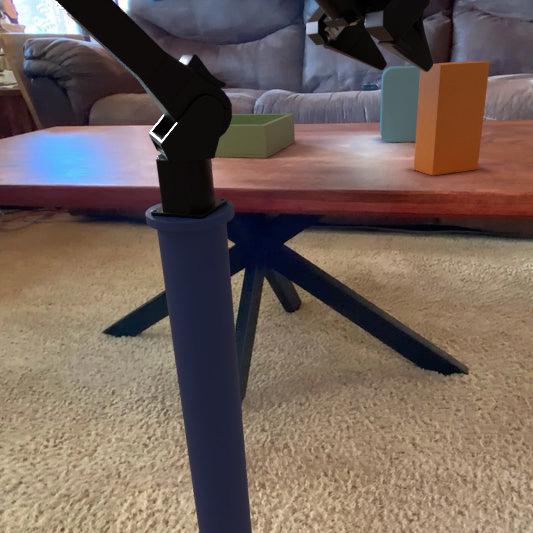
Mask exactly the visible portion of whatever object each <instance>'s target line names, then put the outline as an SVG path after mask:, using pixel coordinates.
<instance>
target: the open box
mask: <svg viewBox="0 0 533 533" xmlns="http://www.w3.org/2000/svg"><path fill="white" fill-rule="evenodd" d="M295 135H296V134H295V113H232V119H231V123H230V126H229V128H228V129H227V131H226V133H225V134H223V135H222V136H221V137H220V139H219V142H218V146H217V150H216V154H215V157H214V158H247V159H248V158H249V159H250V158H251V159H255V158H256V159H267V158H269V157H272V156H273V155H275V154H277V153H279V152H280V151H282V150H283V149H285V148H287V147H289V146H290V145H292V144H295V142H296V140H295V139H296V136H295Z"/></svg>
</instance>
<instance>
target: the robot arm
mask: <svg viewBox="0 0 533 533" xmlns="http://www.w3.org/2000/svg"><path fill="white" fill-rule="evenodd" d="M51 1H52V2H53V4H55V5H56V6H57V7H58V8H59V9H61V10H62V11H63V12H64V13H65V14H66V15H67V16H68V17H69V18H70V19H71V20H72V21H74V22H75V23H76V24H77V25H78V26H79V27H80V28H81V29H82V30H83V31H84V32H85V33H86V34H88V35H89V37H91V38H92V39H93V40H94V41H95V42H97V44H98V45H100V46H101V48H103V49H104V50H105V51H106V52H107V53H108V54H109V55H110V56H111V57H112V58H114V59H115V60H116V61H117V62H118V63H119V64H120V65H121V66H123V68H124V69H126V71H128V72H129V73H130V74H131V75H133V77H134V78H135V79H136V80H137V81H138V82H139V83H140V85H141V86H142V88H143V90H145V92H146V93H147V94H148V96H149V98H150V99H151V100H152V102H153V103H154V105H155V106H156V107H157V108H158V109H159V111H160V112H161V113H162V116H161V117H160V118H159V119H158V121H157V123H155V125H154V126H153V128H152V129H151V130H150V131H149V133H148V137H149V138H150V140H151V142H152V144H153V146H154V148H155V150H156V151H157V152H159V153H160V154H158V155H156V159H155V162H156V171H157V179H158V186H159V194H160V203H162V205H161V206H159V207H157V208H155V209H154V210H152V211H151V216H162V217H176V218H190V219H204V218H206V217H207V216H209V215H210V214H212V213H213V212H215V211H216V210H218V209H219V208H221V207H222V206H224V205H225V204H227V201H228V199H227V198H220V199H219V197H215V185H214V172H213V163H212V159H215V158H216V157H215V154H216V150H217V146H218V142H219V139H220V137H221V136H222V135H223V134H225V133H226V131H227V129H228V128H229V126H230V123H231V119H232V114H233V104H232V101H231V99H230V96H228V94H227V93H226V92H225V90H223V89H222V88H225V87H227V83H226V82H225V81H222V80H220V79H218V78H216V76H214V75H213V74H212V73H211V72H210V70H208V68H207V66H206V65H205V64H204V62H203V60H201V58H200V57H199V56H198V54H182V55H181V57H180V59H177V58H176V57H174V56H173V55H171V54H170V53H169V52H167V51H165V50H164V49H163V48H162V47H161V46H160V45H159V44H158V43H157V42H156V41H155V40H154V39H153V38H152V37H151V36H150V35H149V34H148V33H147V32H146V31H145V30H144V29H143V28H142V27H141V26H140V25H139V24H138V23H137V22H136V21H135V20H134V19H133V18H132V17H131V16H129V14H128V13H126V12H125V10H123V8H122V7H120V5H118V4H117V3H116V2H115V0H51ZM313 1H314V2H315V3H316V4H317V6H318V7H317V9H316V10H315V12H314V13H313V14H312V15H311V16H310V18H309V19H308V21H307V22H306V26H305V28H306V36H307V37H308V38H309V39H310V40H311V41H312V43H313V44H314V45H315V46H322V47H323V48H324V49H325V50H329V51H332V52H335V53H337V54H339V55H342V56H345V57H347V58H349V59H352V60H354V61H356V62H359V63H361V64H363V65H366V66H368V67H370V68H373V69H375V70H378V71H381V72H382V71H384V70H385V69H386V68H387V65H388V62H387V61H386V59H385V57H384V55H383V53H382V52H381V50H380V49H379V48H380V47H381V48H383V49H384V50H387V52H390V53H391V54H393V55H395V56H396V57H398V58H400V59H401V60H403V61H405V62H407V63H408V64H410V65H411V66H415V67H417V68H419V69H421V70H423V71H424V72H428V71H429V70H430V69H431V68H432V66H433V64H434V61H433V57H432V53H431V49H430V46H429V42H428V38H427V34H426V31H425V25H424V15H425V11H426V9H427V8H428V6H429V5H430V4H431V1H432V0H313ZM374 39H376V40H378V42H377V43H376V42H375V40H374ZM379 46H380V47H379Z"/></svg>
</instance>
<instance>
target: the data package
mask: <svg viewBox="0 0 533 533" xmlns="http://www.w3.org/2000/svg"><path fill="white" fill-rule="evenodd" d="M419 82H420V69H419V68H417V67H415V66H413V65H397V66H395V65H394V66H388V67H386V68H384V70H383V72H382V74H381V82H380V106H379V107H380V109H379V110H380V111H379V133H380V136H381V139H382V140H383V141H384V142H386V143H416V128H417V113H418V98H419Z"/></svg>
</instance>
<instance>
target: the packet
mask: <svg viewBox="0 0 533 533" xmlns="http://www.w3.org/2000/svg"><path fill="white" fill-rule="evenodd" d="M490 63H491V62H490V61H488V60H487V61H480V60H479V61H473V60H472V61H454V62H453V61H452V62H439V63H433V66H432V68H431V69H430V70H429V71H428V72H424V71H423V70H421V69H420V82H419V98H418V113H417V128H416V142H415V146H414V161H413V170H414V171H416V172H420V173H423V174H426V175H429V176H432V177H433V176H439V175H446V174H453V173H460V172H461V173H462V172H467V171H474V170H478V169H479V161H480V160H479V159H480V150H481V143H482V142H481V141H482V134H483V132H482V131H483V124H484V116H485V107H486V100H487V89H488V80H489V73H490V72H489V71H490Z"/></svg>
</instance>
